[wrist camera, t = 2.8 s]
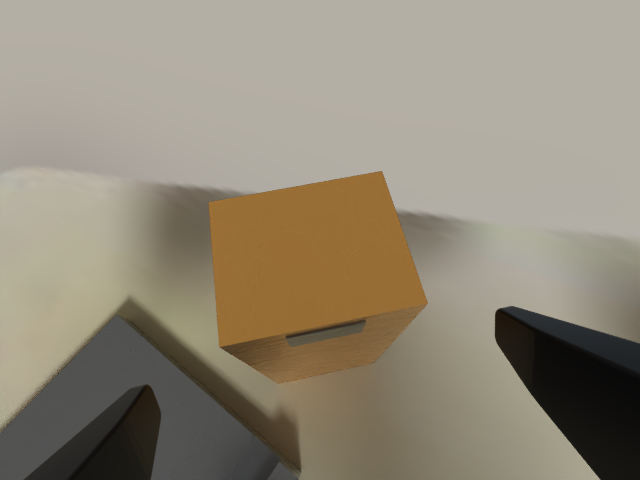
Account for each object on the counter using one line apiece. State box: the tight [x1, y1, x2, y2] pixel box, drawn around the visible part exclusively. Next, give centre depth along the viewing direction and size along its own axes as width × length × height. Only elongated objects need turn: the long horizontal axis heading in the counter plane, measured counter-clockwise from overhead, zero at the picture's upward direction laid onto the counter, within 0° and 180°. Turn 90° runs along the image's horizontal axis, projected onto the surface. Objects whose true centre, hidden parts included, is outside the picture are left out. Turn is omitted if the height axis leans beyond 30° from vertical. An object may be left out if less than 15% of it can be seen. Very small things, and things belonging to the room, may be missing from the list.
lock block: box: [208, 171, 428, 384], centre depth 14 cm, size 4×5×11 cm
